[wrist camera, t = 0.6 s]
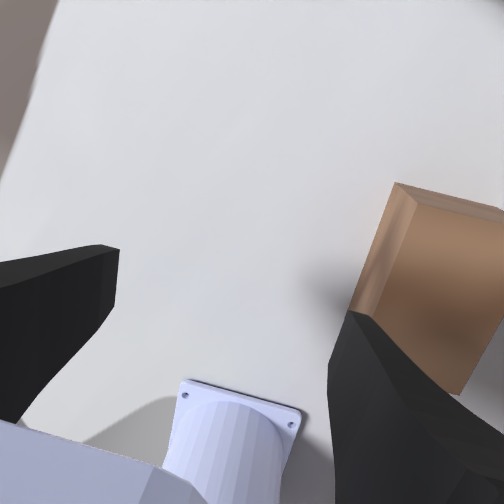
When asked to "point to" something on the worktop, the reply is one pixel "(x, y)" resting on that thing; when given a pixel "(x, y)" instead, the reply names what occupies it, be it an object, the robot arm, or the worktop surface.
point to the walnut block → (436, 281)
